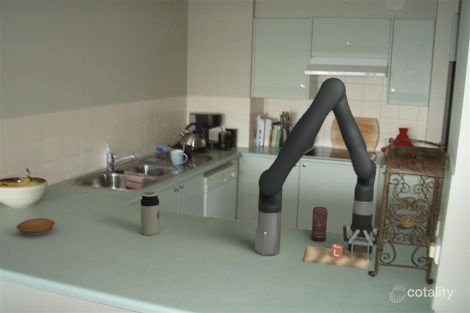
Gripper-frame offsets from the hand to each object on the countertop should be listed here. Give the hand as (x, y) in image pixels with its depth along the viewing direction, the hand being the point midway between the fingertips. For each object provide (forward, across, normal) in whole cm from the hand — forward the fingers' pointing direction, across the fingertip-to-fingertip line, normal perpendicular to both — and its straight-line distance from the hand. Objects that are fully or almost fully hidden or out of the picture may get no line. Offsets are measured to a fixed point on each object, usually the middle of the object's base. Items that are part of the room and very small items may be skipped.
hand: (359, 253), depth 185 cm
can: (+3, -17, +19) cm, 26 cm away
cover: (+1, 0, 0) cm, 1 cm away
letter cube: (+2, -8, 0) cm, 9 cm away
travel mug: (+3, -89, +6) cm, 90 cm away
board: (+3, -8, 0) cm, 9 cm away
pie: (+4, -137, -8) cm, 137 cm away
